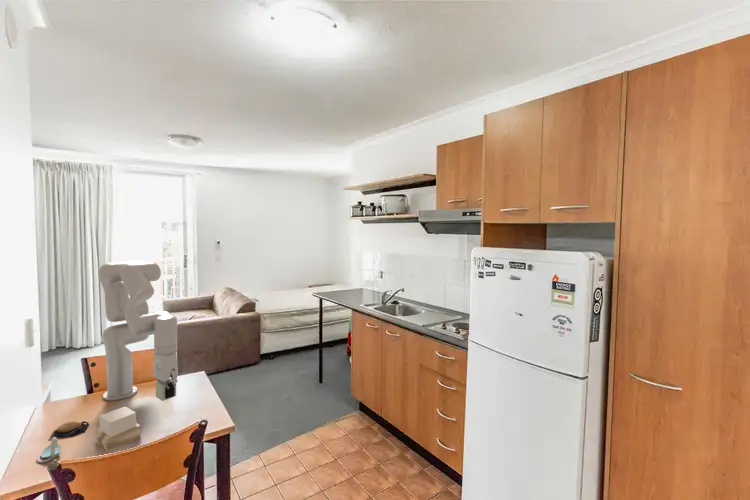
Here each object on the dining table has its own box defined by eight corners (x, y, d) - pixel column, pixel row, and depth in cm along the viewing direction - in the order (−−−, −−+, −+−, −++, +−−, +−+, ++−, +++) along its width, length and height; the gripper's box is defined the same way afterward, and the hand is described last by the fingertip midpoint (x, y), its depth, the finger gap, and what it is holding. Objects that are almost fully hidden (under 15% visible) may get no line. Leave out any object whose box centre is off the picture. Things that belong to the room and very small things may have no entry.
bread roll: (47, 443, 127) (46, 433, 127) (54, 430, 134) (54, 421, 134) (85, 435, 132) (84, 425, 132) (90, 423, 139) (90, 414, 139)
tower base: (96, 442, 127) (95, 428, 127) (128, 429, 136) (128, 416, 135) (107, 453, 122) (107, 438, 121) (140, 439, 130) (140, 425, 130)
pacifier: (36, 467, 114) (61, 458, 118) (34, 448, 113) (60, 440, 118) (36, 456, 119) (60, 448, 123) (35, 438, 119) (59, 430, 123)
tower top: (99, 429, 127) (99, 415, 126) (125, 419, 133) (125, 406, 133) (110, 436, 122) (109, 422, 122) (136, 426, 129) (135, 412, 129)
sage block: (156, 396, 138) (155, 381, 137) (169, 392, 142) (169, 377, 141) (162, 401, 135) (162, 385, 134) (176, 396, 139) (176, 380, 138)
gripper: (144, 346, 138) (145, 392, 140) (166, 356, 129) (167, 406, 130) (165, 341, 145) (165, 385, 146) (187, 351, 135) (187, 398, 137)
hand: (166, 394), depth 138 cm, fingers closed on sage block, 5 cm apart
